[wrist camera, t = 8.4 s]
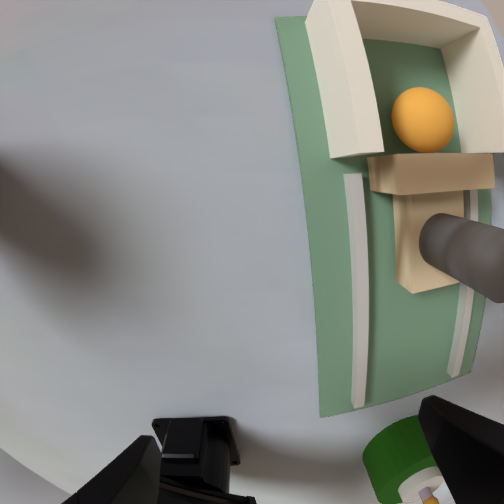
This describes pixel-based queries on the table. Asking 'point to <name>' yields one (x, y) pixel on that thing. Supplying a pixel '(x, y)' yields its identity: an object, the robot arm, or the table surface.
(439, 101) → the ball
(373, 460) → the candle
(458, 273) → the kicker
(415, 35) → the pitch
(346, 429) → the table surface
